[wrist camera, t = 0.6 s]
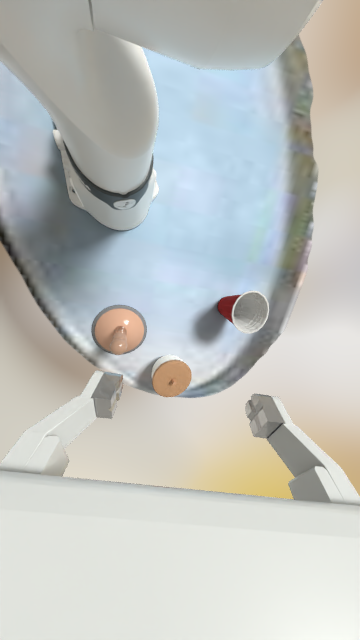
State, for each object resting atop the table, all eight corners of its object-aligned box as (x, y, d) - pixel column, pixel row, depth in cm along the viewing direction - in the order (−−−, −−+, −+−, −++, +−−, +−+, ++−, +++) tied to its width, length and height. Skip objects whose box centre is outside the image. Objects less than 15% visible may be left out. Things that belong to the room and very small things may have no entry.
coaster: (83, 313, 39) (82, 313, 39) (138, 298, 42) (138, 299, 42) (103, 360, 44) (103, 361, 43) (152, 344, 47) (152, 344, 46)
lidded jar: (177, 382, 53) (186, 402, 44) (144, 378, 49) (148, 400, 40) (187, 352, 51) (199, 367, 42) (154, 346, 47) (160, 361, 38)
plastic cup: (234, 281, 50) (264, 282, 39) (243, 311, 54) (273, 320, 43) (204, 297, 48) (227, 304, 37) (216, 327, 52) (240, 341, 41)
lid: (87, 316, 40) (71, 331, 28) (136, 302, 42) (139, 312, 31) (105, 357, 43) (97, 386, 32) (148, 343, 46) (156, 364, 35)
